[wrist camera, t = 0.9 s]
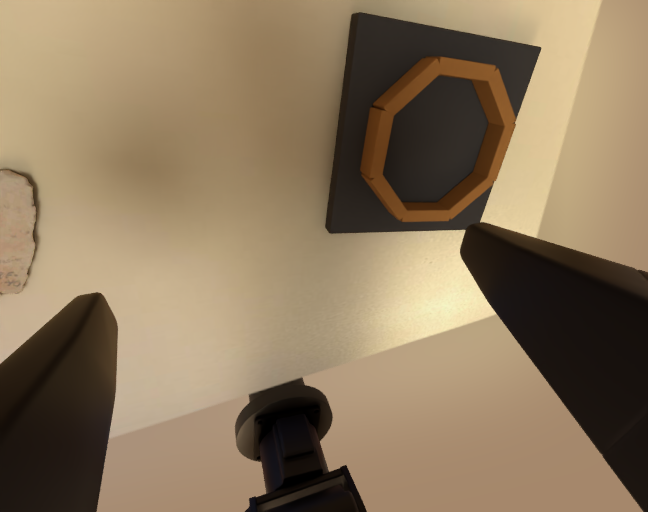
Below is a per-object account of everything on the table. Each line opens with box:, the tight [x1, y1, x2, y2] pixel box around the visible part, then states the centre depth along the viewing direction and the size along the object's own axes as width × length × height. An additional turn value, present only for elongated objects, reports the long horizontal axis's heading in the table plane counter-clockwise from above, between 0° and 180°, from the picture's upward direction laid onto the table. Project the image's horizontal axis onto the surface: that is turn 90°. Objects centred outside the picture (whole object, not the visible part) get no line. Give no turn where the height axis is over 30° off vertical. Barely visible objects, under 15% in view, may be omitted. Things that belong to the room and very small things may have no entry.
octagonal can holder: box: [325, 12, 541, 233], centre depth 21 cm, size 12×12×2 cm
